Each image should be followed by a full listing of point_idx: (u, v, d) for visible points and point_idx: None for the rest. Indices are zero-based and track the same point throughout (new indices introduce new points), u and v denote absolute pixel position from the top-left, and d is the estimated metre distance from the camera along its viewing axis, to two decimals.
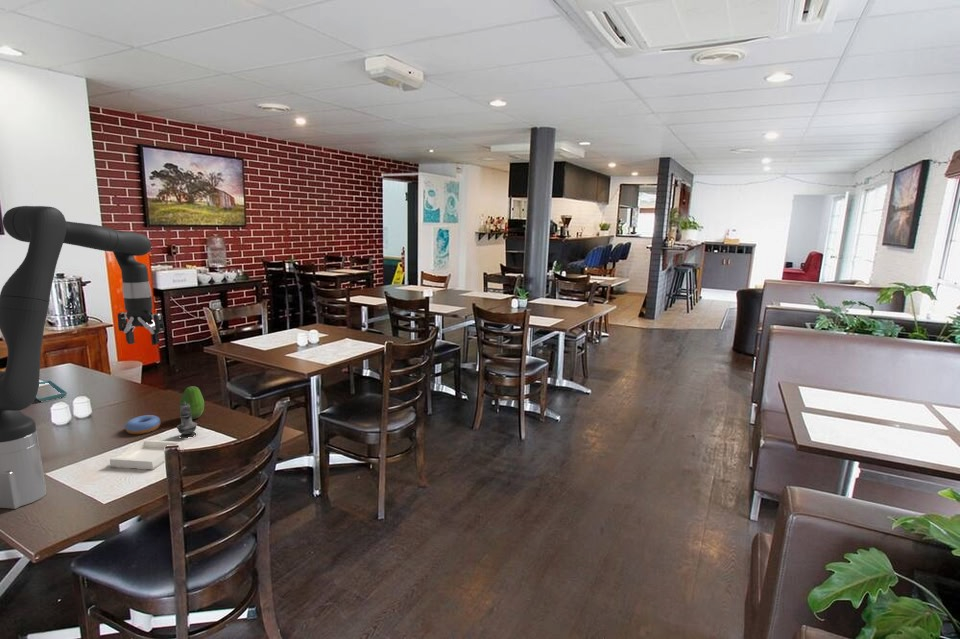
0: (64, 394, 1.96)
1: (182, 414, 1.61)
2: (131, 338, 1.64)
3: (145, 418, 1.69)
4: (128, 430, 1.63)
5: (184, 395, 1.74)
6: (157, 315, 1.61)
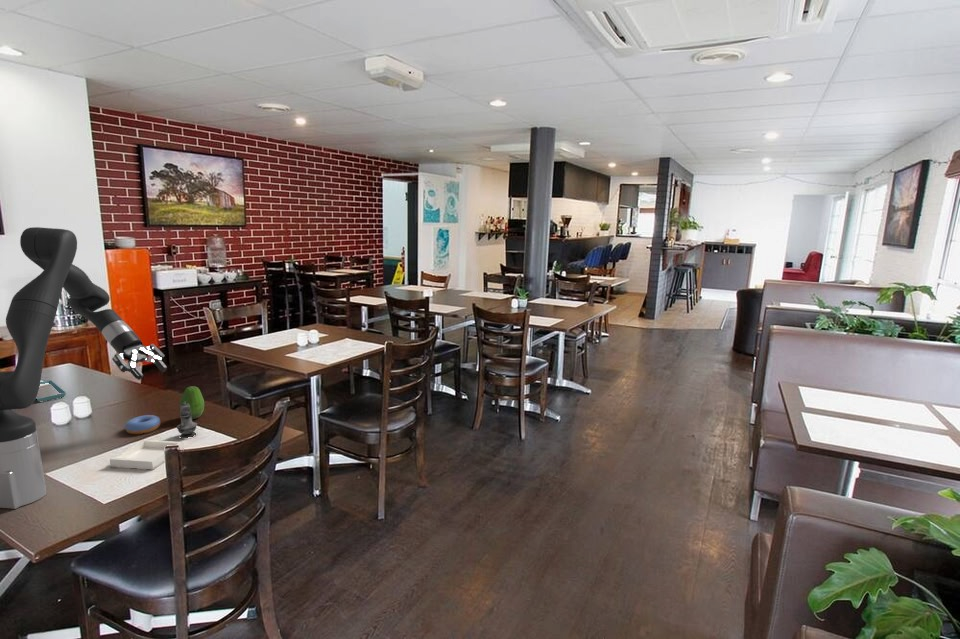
0: (63, 394, 1.96)
1: (182, 414, 1.61)
2: None
3: (145, 418, 1.69)
4: (128, 430, 1.63)
5: (184, 395, 1.74)
6: None
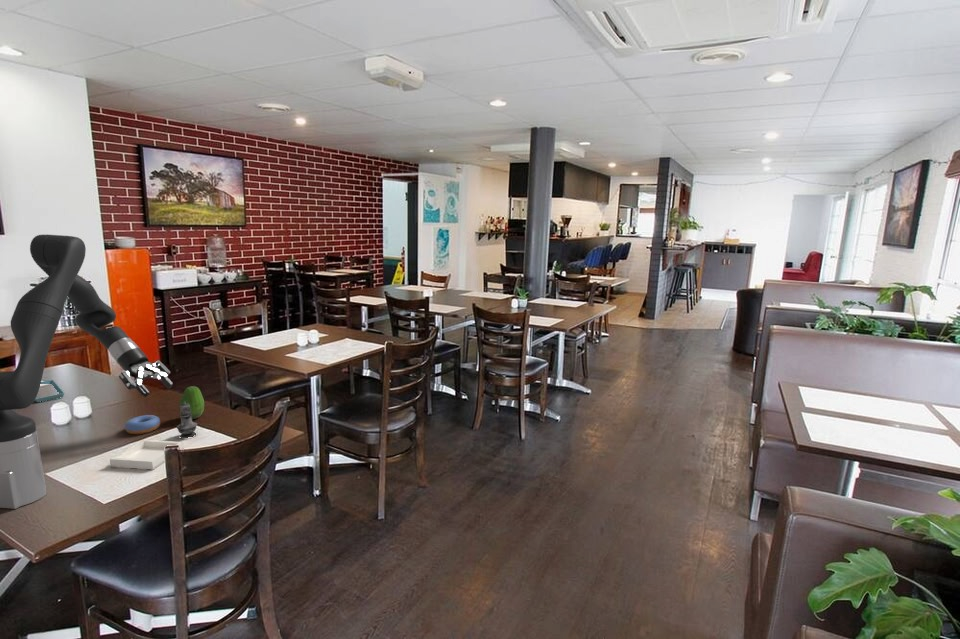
0: (61, 395, 1.95)
1: (182, 414, 1.61)
2: None
3: (145, 418, 1.69)
4: (128, 430, 1.63)
5: (184, 395, 1.74)
6: None
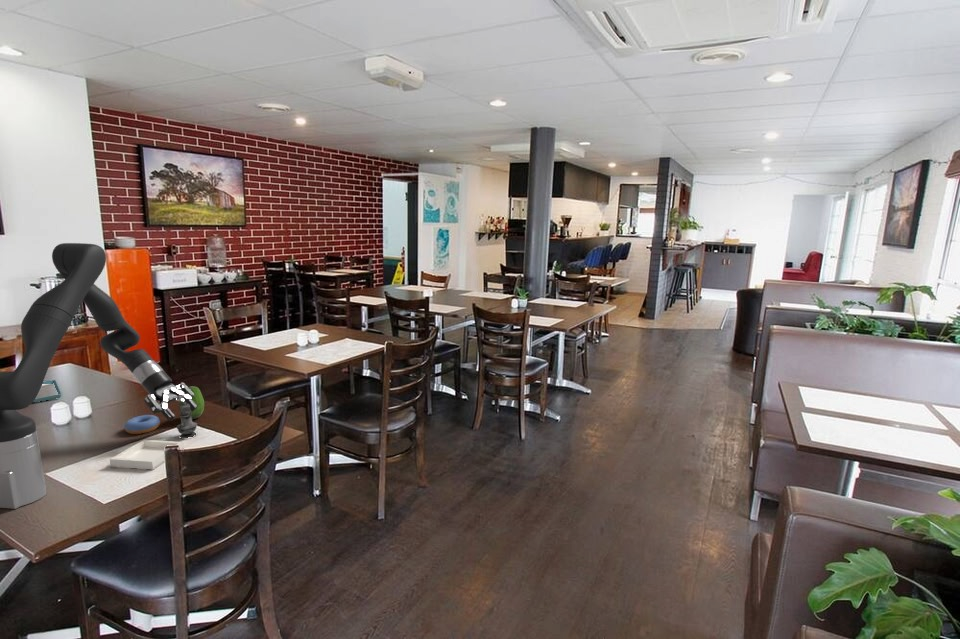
0: (58, 395, 1.94)
1: (182, 414, 1.61)
2: None
3: (144, 418, 1.69)
4: (127, 430, 1.63)
5: None
6: None
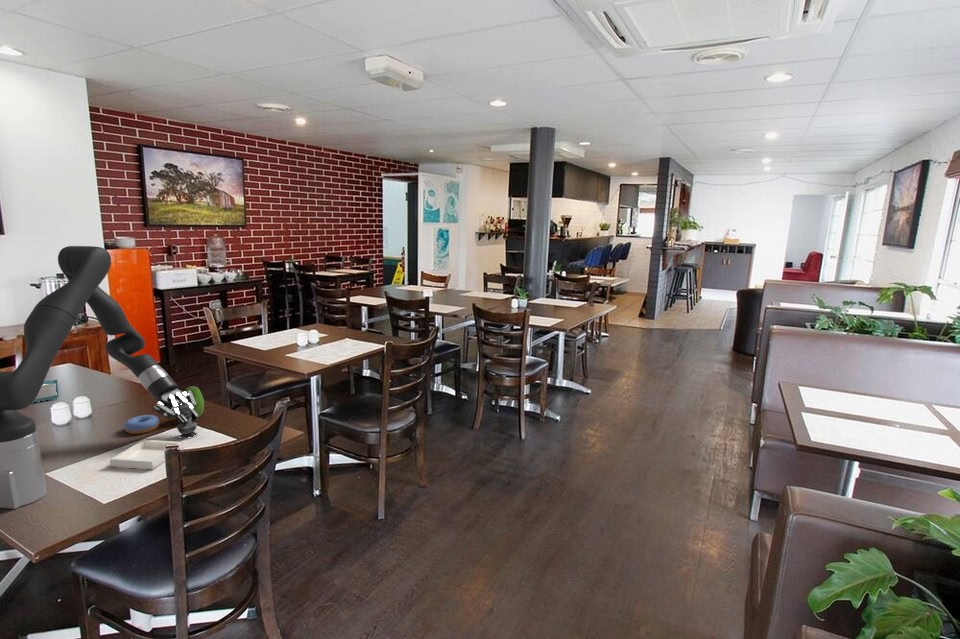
0: (56, 396, 1.93)
1: None
2: None
3: (144, 418, 1.69)
4: (127, 430, 1.63)
5: None
6: None
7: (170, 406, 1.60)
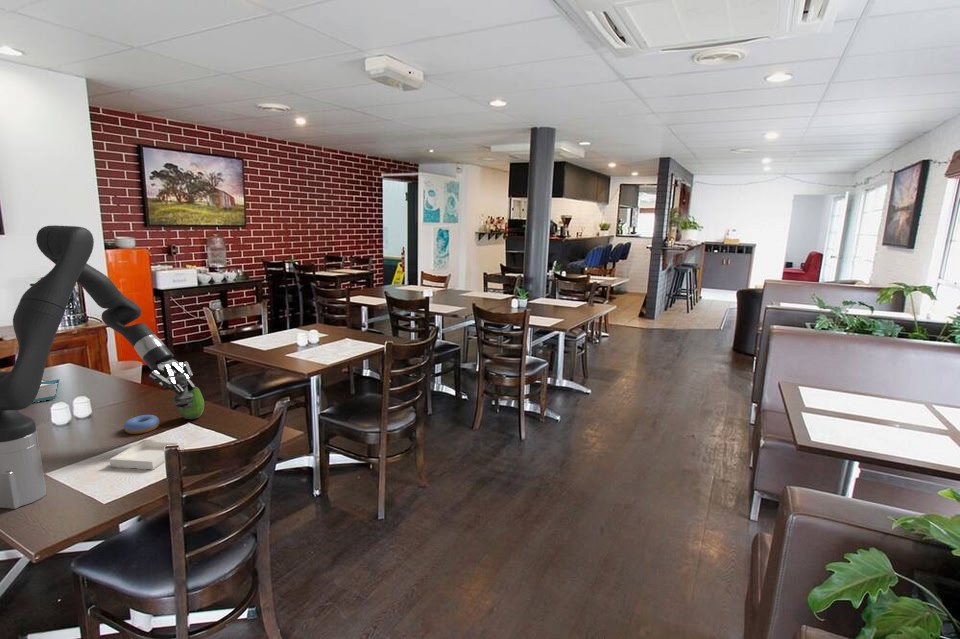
0: (53, 397, 1.93)
1: None
2: None
3: (144, 418, 1.70)
4: (127, 430, 1.63)
5: None
6: None
7: (166, 375, 1.58)
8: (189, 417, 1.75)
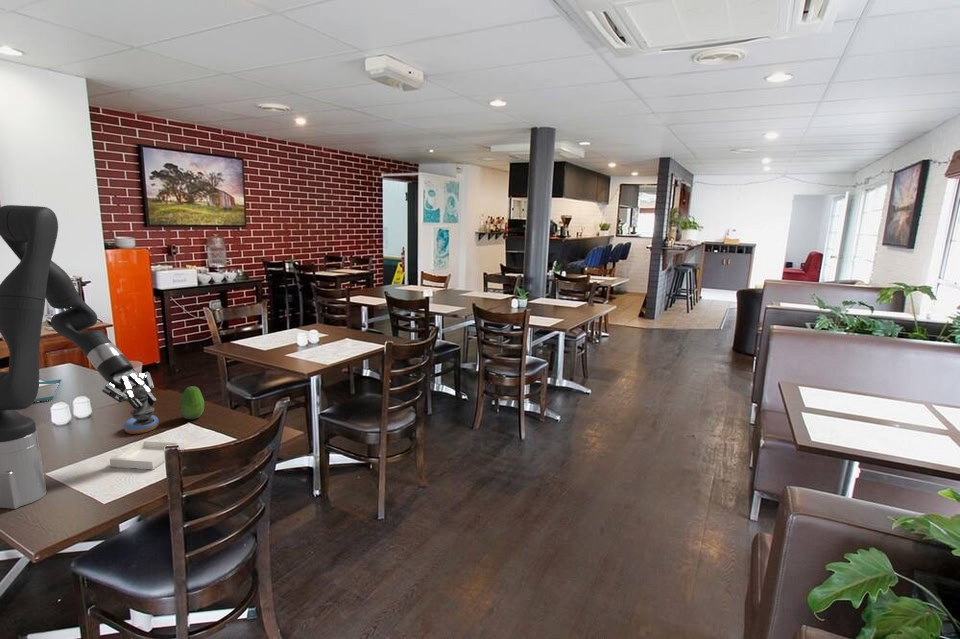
0: (50, 397, 1.92)
1: None
2: None
3: None
4: (126, 430, 1.64)
5: (184, 395, 1.74)
6: None
7: (123, 388, 1.42)
8: (189, 417, 1.75)
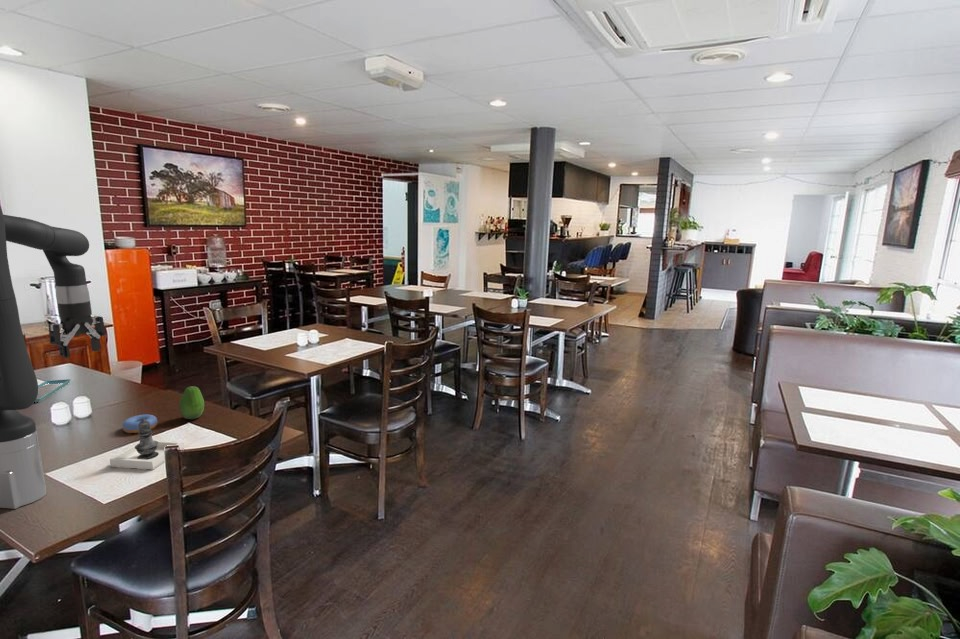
0: (36, 399, 1.90)
1: (141, 432, 1.45)
2: None
3: (142, 417, 1.70)
4: (125, 429, 1.64)
5: (184, 395, 1.74)
6: None
7: (66, 332, 1.43)
8: (189, 417, 1.75)
